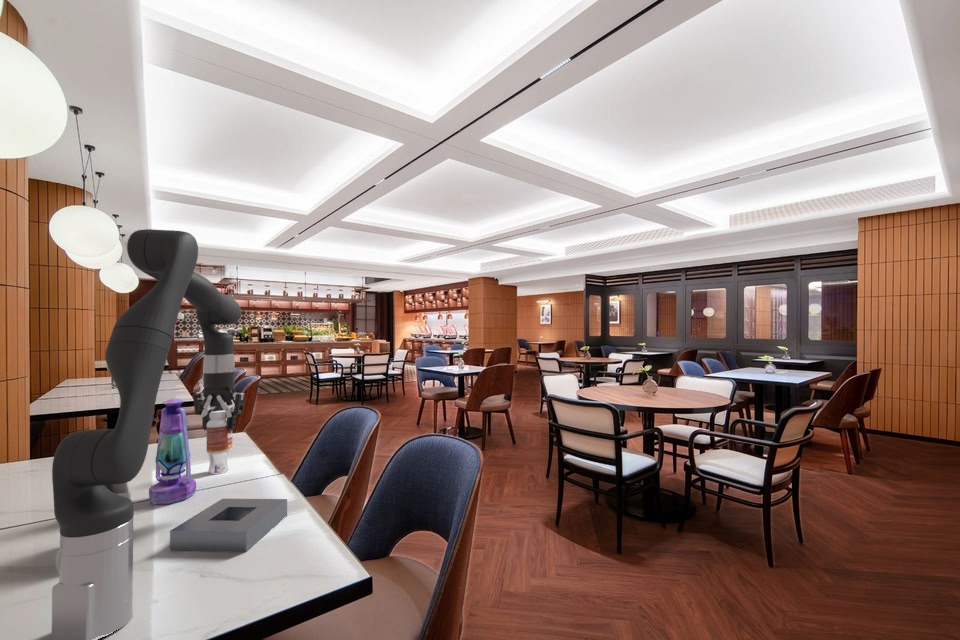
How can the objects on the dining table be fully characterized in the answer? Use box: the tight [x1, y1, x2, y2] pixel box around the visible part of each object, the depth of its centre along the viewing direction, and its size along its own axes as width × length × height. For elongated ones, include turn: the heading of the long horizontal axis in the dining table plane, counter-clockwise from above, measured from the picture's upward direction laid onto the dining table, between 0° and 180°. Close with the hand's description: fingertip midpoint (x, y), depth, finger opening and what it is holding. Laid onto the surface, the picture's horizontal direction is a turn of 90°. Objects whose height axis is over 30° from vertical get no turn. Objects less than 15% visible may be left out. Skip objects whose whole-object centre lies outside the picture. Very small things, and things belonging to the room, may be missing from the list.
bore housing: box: [169, 498, 288, 553], centre depth 103 cm, size 18×18×4 cm
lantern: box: [148, 397, 197, 505], centre depth 124 cm, size 13×12×30 cm
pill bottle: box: [206, 410, 233, 454], centre depth 116 cm, size 6×6×11 cm
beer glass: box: [207, 451, 229, 475], centre depth 147 cm, size 7×7×15 cm
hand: (219, 429), depth 116 cm, fingers closed on pill bottle, 6 cm apart
